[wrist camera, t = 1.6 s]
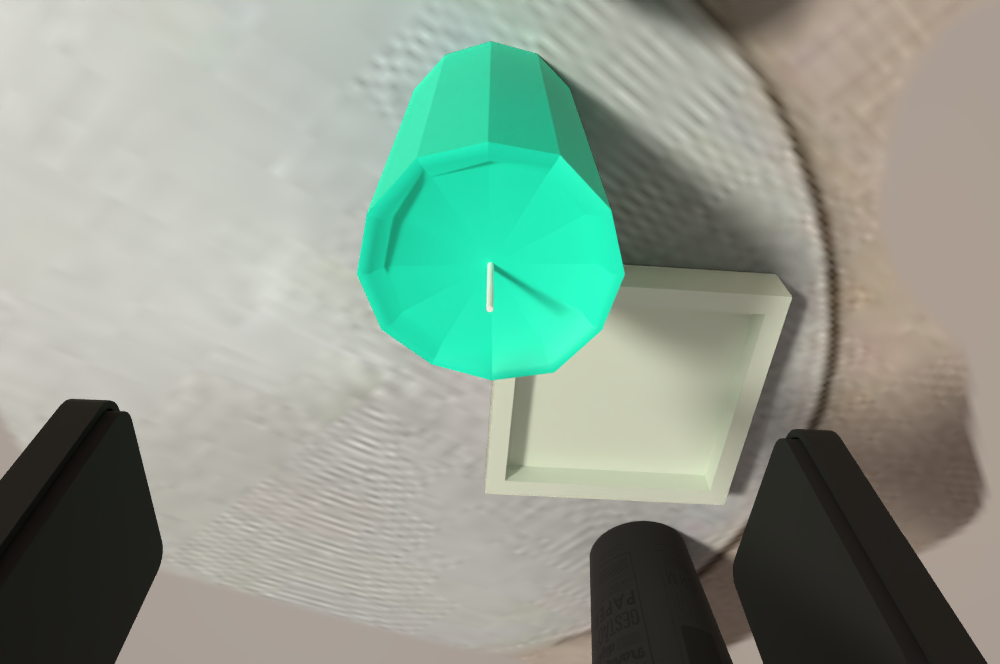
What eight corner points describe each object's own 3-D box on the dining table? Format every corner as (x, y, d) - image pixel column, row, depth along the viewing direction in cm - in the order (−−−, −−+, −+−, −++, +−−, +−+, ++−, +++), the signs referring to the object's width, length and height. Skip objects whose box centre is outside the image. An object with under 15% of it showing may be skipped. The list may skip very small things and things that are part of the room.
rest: (776, 274, 28) (792, 296, 26) (713, 476, 34) (723, 505, 32) (502, 256, 28) (503, 279, 26) (485, 465, 33) (485, 493, 32)
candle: (608, 162, 26) (682, 351, 15) (464, 241, 27) (446, 459, 17) (525, 3, 23) (547, 107, 13) (370, 102, 24) (281, 263, 14)
